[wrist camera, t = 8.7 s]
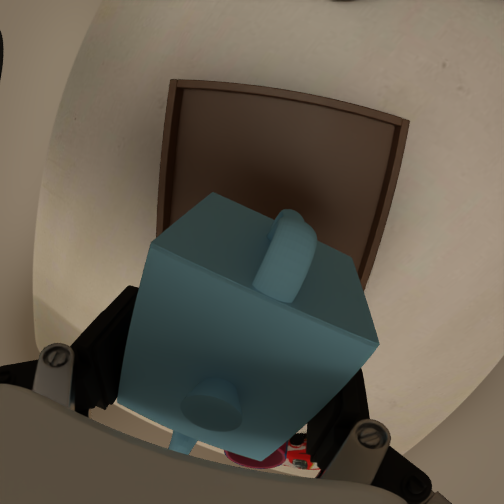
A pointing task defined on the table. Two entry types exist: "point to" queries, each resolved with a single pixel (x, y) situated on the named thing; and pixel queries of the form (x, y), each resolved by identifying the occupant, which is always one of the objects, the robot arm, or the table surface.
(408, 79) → the table surface
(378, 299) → the table surface
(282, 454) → the mug
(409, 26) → the table surface
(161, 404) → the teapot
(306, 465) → the race car
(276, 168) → the tray
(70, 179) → the table surface
